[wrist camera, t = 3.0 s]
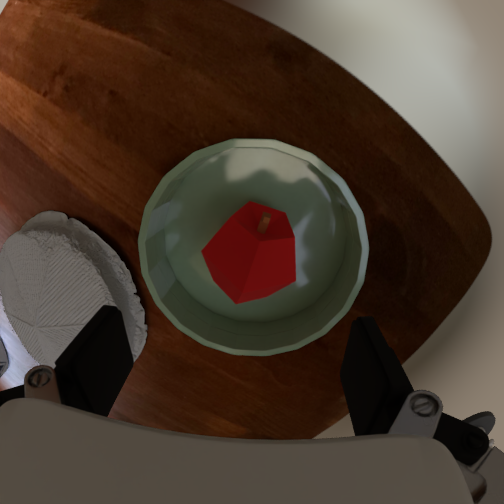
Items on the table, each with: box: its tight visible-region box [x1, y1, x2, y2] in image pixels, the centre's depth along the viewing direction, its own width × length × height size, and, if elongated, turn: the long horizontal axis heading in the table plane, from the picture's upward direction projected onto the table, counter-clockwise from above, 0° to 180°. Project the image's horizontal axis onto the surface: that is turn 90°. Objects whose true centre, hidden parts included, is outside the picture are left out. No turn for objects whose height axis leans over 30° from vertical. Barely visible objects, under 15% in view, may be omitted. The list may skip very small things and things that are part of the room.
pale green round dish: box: [138, 139, 369, 356], centre depth 22 cm, size 16×16×4 cm
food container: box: [0, 211, 147, 369], centre depth 24 cm, size 20×20×7 cm
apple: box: [201, 201, 296, 304], centre depth 21 cm, size 7×7×8 cm
